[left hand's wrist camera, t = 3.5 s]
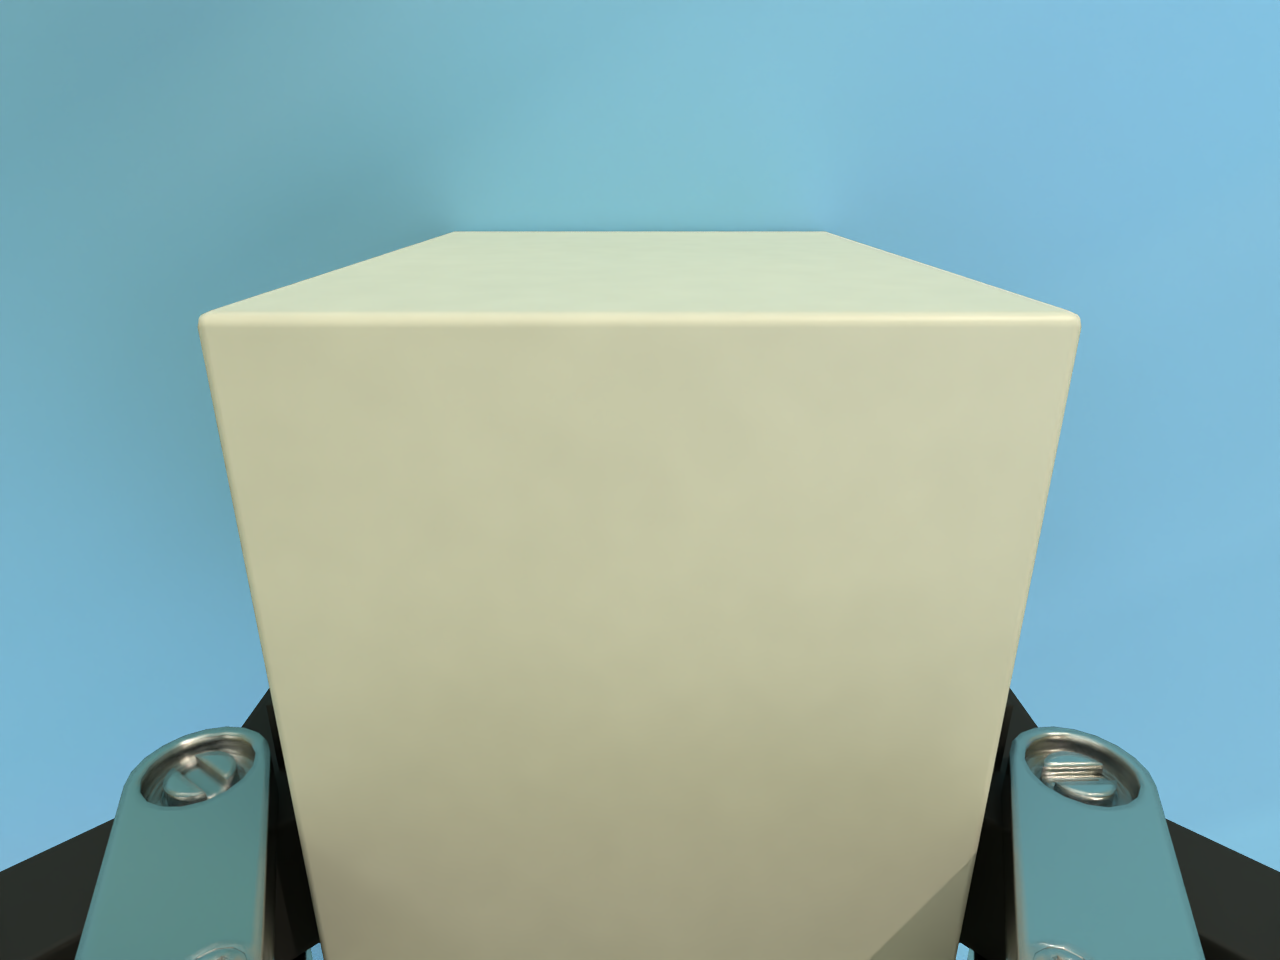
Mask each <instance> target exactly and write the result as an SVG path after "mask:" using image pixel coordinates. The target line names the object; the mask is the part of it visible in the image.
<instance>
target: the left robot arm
mask: <svg viewBox="0 0 1280 960" xmlns="http://www.w3.org/2000/svg"><path fill="white" fill-rule="evenodd" d="M317 943H320V938H319V933H318V928H317V923H316V918H315V913H314V908H313V903H312V898H311V893H310V888H309V883H308V878H307V873H306V868H305V863H304V858H303V853H302V848H301V843H300V838H299V833H298V828H297V823H296V818H295V813H294V808H293V803H292V798H291V793H290V788H289V783H288V777H287V772H286V767H285V762H284V757H283V752H282V747H281V742H280V737H279V732H278V727H277V722H276V717H275V712H274V707H273V702H272V697H271V692H270V688H269V689H268V691H267V692H266V694H265V695H264V696H263V698H262V699H261V701H260V702H259V703H258V705H257V706H256V708H255V709H254V710H253V712H252V713H251V715H250V716H249V717H248V719H247V720H246V722H245V723H244V724H243V726H242V727H241V728H240V727H220V728H212V729H205V730H202V731H199V732H195V733H192V734H188V735H185V736H183V737H180V738H178V739H176V740H174V741H172V742H170V743H168V744H165V745H163V746H162V747H160V748H159V749H157V750H156V751H154V752H153V753H152V754H150V755H149V756H147V757H146V758H144V759H143V760H142V761H141V763H140V764H139V765H138V766H137V767H136V768H135V769H134V770H133V771H132V772H131V773H130V775H129V777H128V779H127V781H126V783H125V785H124V787H123V791H122V794H121V798H120V801H119V805H118V808H117V812H116V815H115V818H114V819H112V820H110V821H108V822H106V823H104V824H101V825H99V826H97V827H95V828H93V829H91V830H89V831H87V832H84V833H82V834H80V835H78V836H76V837H74V838H72V839H69V840H67V841H65V842H63V843H61V844H59V845H57V846H55V847H52V848H50V849H48V850H46V851H44V852H42V853H40V854H37V855H35V856H33V857H31V858H29V859H27V860H25V861H23V862H20V863H18V864H16V865H14V866H12V867H10V868H8V869H5V870H3V871H1V872H0V960H313V957H312V952H311V947H313V946H314V945H316V944H317ZM959 943H962V944H964V945H965V946H967V947H968V948H969V952H968V957H967V960H1280V872H1278V871H1276V870H1274V869H1272V868H1270V867H1268V866H1266V865H1263V864H1261V863H1259V862H1257V861H1255V860H1253V859H1251V858H1248V857H1246V856H1244V855H1242V854H1240V853H1238V852H1236V851H1234V850H1231V849H1229V848H1227V847H1225V846H1223V845H1221V844H1219V843H1216V842H1214V841H1212V840H1210V839H1208V838H1206V837H1204V836H1202V835H1199V834H1197V833H1195V832H1193V831H1191V830H1189V829H1187V828H1184V827H1182V826H1180V825H1178V824H1176V823H1174V822H1172V821H1170V820H1167V819H1165V815H1164V812H1163V808H1162V805H1161V801H1160V798H1159V794H1158V791H1157V787H1156V785H1155V783H1154V781H1153V779H1152V777H1151V775H1150V773H1149V772H1148V771H1147V770H1146V769H1145V768H1144V767H1143V766H1142V765H1141V764H1140V763H1139V761H1138V760H1137V759H1136V758H1134V757H1133V756H1131V755H1130V754H1128V753H1127V752H1126V751H1124V750H1123V749H1121V748H1120V747H1118V746H1117V745H1115V744H1112V743H1110V742H1108V741H1106V740H1104V739H1102V738H1100V737H1097V736H1095V735H1092V734H1088V733H1085V732H1081V731H1078V730H1075V729H1068V728H1060V727H1040V728H1038V727H1037V725H1036V724H1035V723H1034V721H1033V720H1032V718H1031V717H1030V716H1029V714H1028V713H1027V711H1026V710H1025V709H1024V707H1023V706H1022V704H1021V703H1020V702H1019V700H1018V699H1017V697H1016V696H1015V695H1014V693H1013V692H1012V690H1011V689H1010V688H1009V693H1008V698H1007V703H1006V708H1005V713H1004V718H1003V723H1002V728H1001V733H1000V738H999V743H998V748H997V753H996V758H995V763H994V768H993V773H992V778H991V783H990V788H989V793H988V798H987V803H986V808H985V813H984V818H983V823H982V828H981V833H980V838H979V843H978V848H977V853H976V858H975V863H974V869H973V874H972V879H971V884H970V889H969V894H968V899H967V904H966V909H965V914H964V919H963V924H962V929H961V934H960V939H959Z"/></svg>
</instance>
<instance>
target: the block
mask: <svg viewBox="0 0 1280 960" xmlns="http://www.w3.org/2000/svg"><path fill="white" fill-rule="evenodd" d="M198 331H199V336H200V341H201V346H202V351H203V356H204V361H205V366H206V371H207V376H208V381H209V386H210V391H211V396H212V401H213V406H214V411H215V416H216V421H217V426H218V431H219V436H220V442H221V447H222V452H223V457H224V462H225V467H226V472H227V477H228V482H229V487H230V492H231V497H232V502H233V507H234V512H235V517H236V522H237V527H238V532H239V537H240V542H241V547H242V552H243V557H244V562H245V567H246V572H247V577H248V582H249V587H250V592H251V597H252V602H253V607H254V612H255V617H256V622H257V627H258V632H259V637H260V642H261V647H262V652H263V657H264V662H265V667H266V672H267V677H268V682H269V687H270V692H271V697H272V702H273V707H274V712H275V717H276V722H277V727H278V732H279V737H280V742H281V747H282V752H283V757H284V762H285V767H286V772H287V777H288V783H289V788H290V793H291V798H292V803H293V808H294V813H295V818H296V823H297V828H298V833H299V838H300V843H301V848H302V853H303V858H304V863H305V868H306V873H307V878H308V883H309V888H310V893H311V898H312V903H313V908H314V913H315V918H316V923H317V928H318V933H319V938H320V943H321V948H322V953H323V958H324V960H955V959H956V954H957V949H958V944H959V939H960V934H961V929H962V924H963V919H964V914H965V909H966V904H967V899H968V894H969V889H970V884H971V879H972V874H973V869H974V863H975V858H976V853H977V848H978V843H979V838H980V833H981V828H982V823H983V818H984V813H985V808H986V803H987V798H988V793H989V788H990V783H991V778H992V773H993V768H994V763H995V758H996V753H997V748H998V743H999V738H1000V733H1001V728H1002V723H1003V718H1004V713H1005V708H1006V703H1007V698H1008V693H1009V688H1010V683H1011V678H1012V673H1013V668H1014V662H1015V657H1016V652H1017V647H1018V642H1019V637H1020V632H1021V627H1022V622H1023V617H1024V612H1025V607H1026V602H1027V597H1028V592H1029V587H1030V582H1031V577H1032V572H1033V567H1034V562H1035V557H1036V552H1037V547H1038V542H1039V537H1040V532H1041V527H1042V522H1043V517H1044V512H1045V507H1046V502H1047V497H1048V492H1049V487H1050V482H1051V477H1052V472H1053V466H1054V461H1055V456H1056V451H1057V446H1058V441H1059V436H1060V431H1061V426H1062V421H1063V416H1064V411H1065V406H1066V401H1067V396H1068V391H1069V386H1070V381H1071V376H1072V371H1073V366H1074V361H1075V356H1076V351H1077V346H1078V341H1079V336H1080V331H1081V322H1080V318H1079V316H1078V315H1077V314H1075V313H1073V312H1070V311H1068V310H1065V309H1062V308H1059V307H1056V306H1053V305H1050V304H1047V303H1043V302H1040V301H1037V300H1034V299H1031V298H1028V297H1025V296H1022V295H1019V294H1016V293H1013V292H1010V291H1006V290H1003V289H1000V288H997V287H994V286H991V285H988V284H985V283H982V282H979V281H976V280H973V279H970V278H966V277H963V276H960V275H957V274H954V273H951V272H948V271H945V270H942V269H939V268H936V267H933V266H930V265H926V264H923V263H920V262H917V261H914V260H911V259H908V258H905V257H902V256H899V255H896V254H893V253H890V252H886V251H883V250H880V249H877V248H874V247H871V246H868V245H865V244H862V243H859V242H856V241H853V240H849V239H846V238H843V237H840V236H837V235H834V234H831V233H828V232H451V233H448V234H445V235H442V236H439V237H436V238H433V239H430V240H427V241H424V242H421V243H417V244H414V245H411V246H408V247H405V248H402V249H399V250H396V251H393V252H390V253H387V254H384V255H380V256H377V257H374V258H371V259H368V260H365V261H362V262H359V263H356V264H353V265H350V266H347V267H343V268H340V269H337V270H334V271H331V272H328V273H325V274H322V275H319V276H316V277H313V278H310V279H306V280H303V281H300V282H297V283H294V284H291V285H288V286H285V287H282V288H279V289H276V290H273V291H269V292H266V293H263V294H260V295H257V296H254V297H251V298H248V299H245V300H242V301H239V302H236V303H232V304H229V305H226V306H223V307H220V308H217V309H214V310H211V311H209V312H206V313H204V314H202V315H201V316H200V317H199V322H198Z"/></svg>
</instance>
